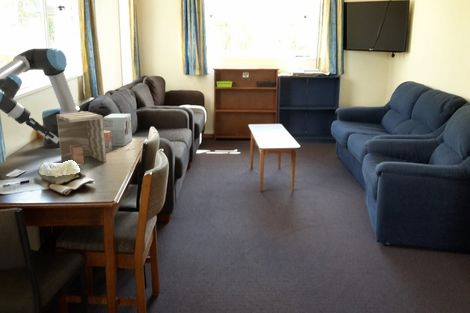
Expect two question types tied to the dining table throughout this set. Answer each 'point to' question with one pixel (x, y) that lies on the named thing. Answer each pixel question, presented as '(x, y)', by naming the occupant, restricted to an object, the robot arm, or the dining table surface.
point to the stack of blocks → (108, 141)
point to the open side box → (81, 134)
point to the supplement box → (119, 128)
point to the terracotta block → (77, 153)
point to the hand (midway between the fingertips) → (53, 139)
